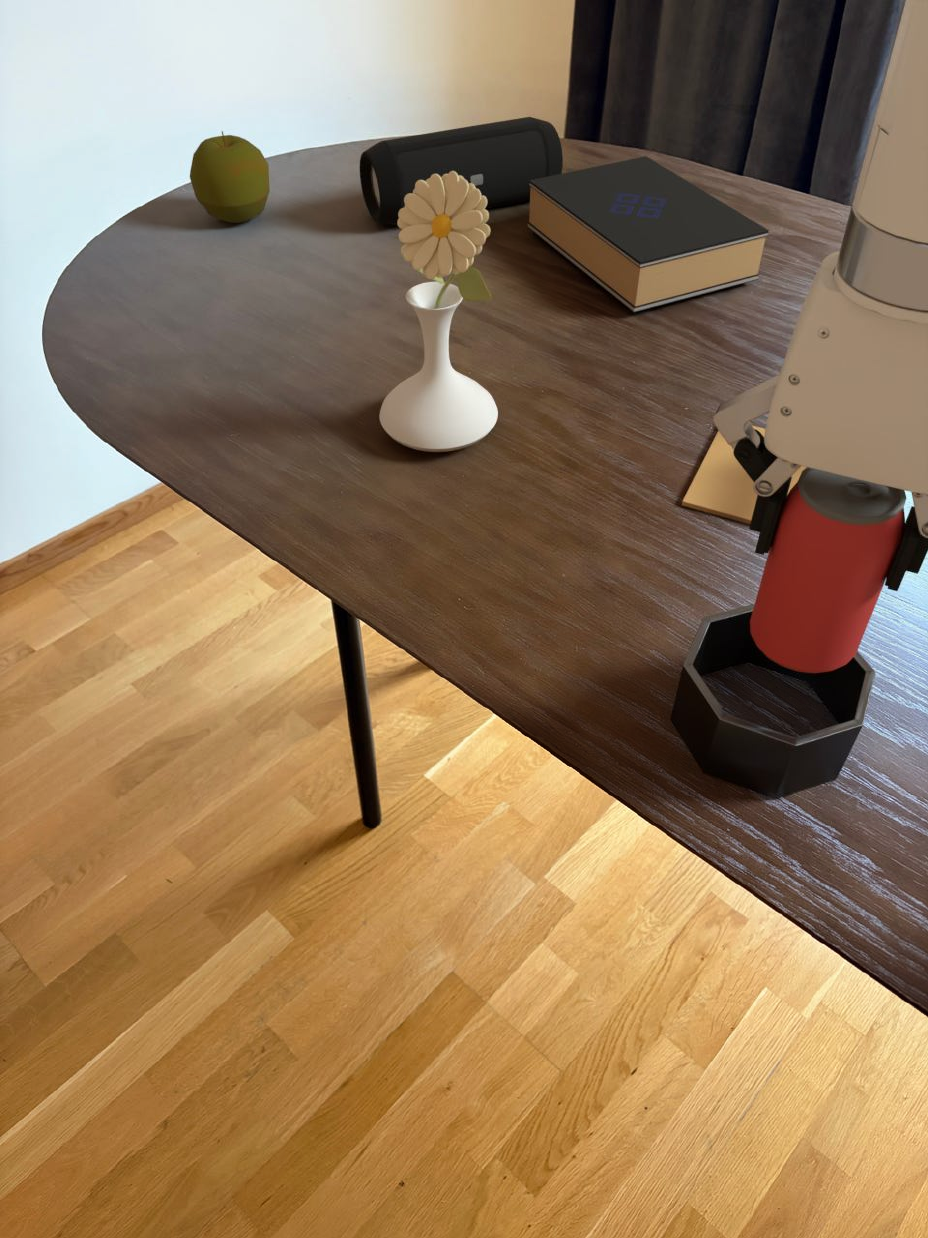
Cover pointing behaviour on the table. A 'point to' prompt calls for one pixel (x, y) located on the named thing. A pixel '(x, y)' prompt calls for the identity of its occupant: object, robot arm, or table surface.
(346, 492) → the table surface
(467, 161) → the portable speaker
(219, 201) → the apple
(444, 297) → the flower in vase
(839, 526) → the beer can
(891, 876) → the table surface
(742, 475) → the cork mat
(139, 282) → the table surface
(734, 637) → the black octagonal pot
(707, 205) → the book
